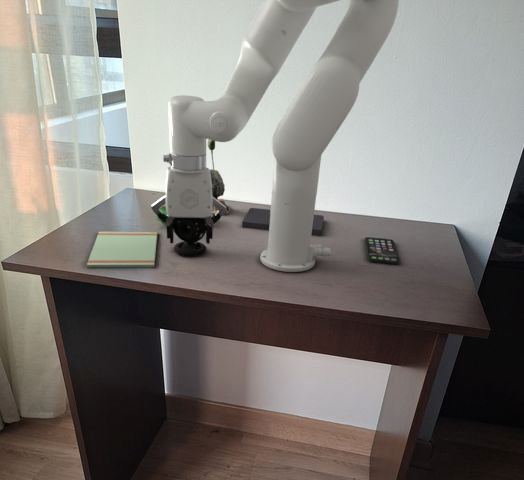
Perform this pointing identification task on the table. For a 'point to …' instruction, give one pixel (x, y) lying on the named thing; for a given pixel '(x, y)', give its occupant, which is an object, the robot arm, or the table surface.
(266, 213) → the notebook
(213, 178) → the plant with pod
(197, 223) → the webcam
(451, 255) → the table surface
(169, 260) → the table surface
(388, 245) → the smartphone
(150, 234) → the towel
